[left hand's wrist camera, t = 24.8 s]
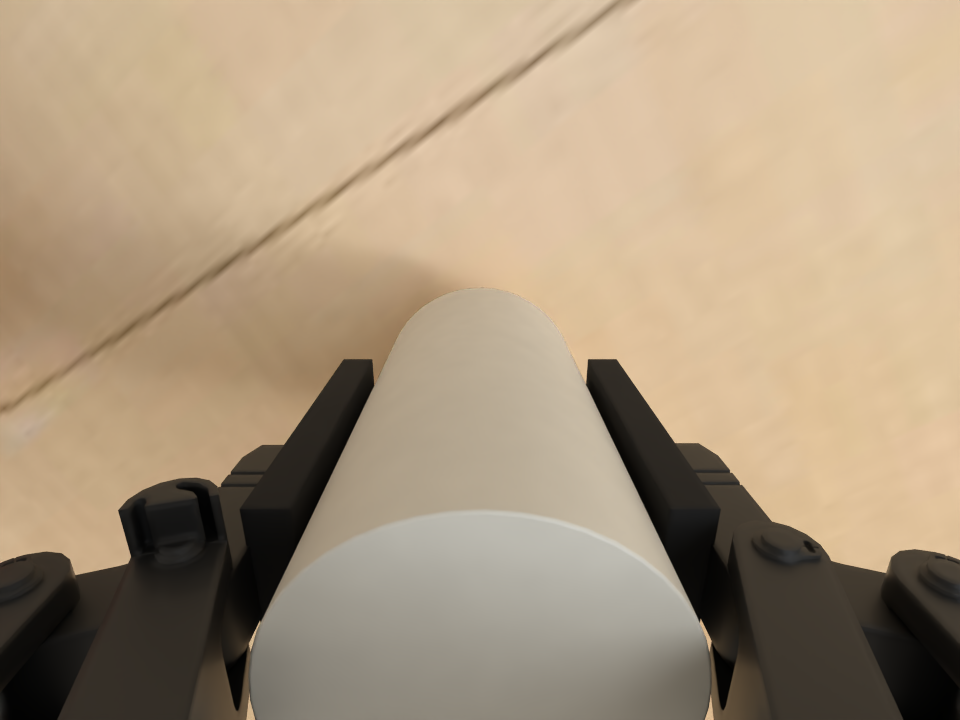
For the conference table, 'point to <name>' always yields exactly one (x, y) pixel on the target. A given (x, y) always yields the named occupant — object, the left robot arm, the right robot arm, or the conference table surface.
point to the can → (480, 548)
